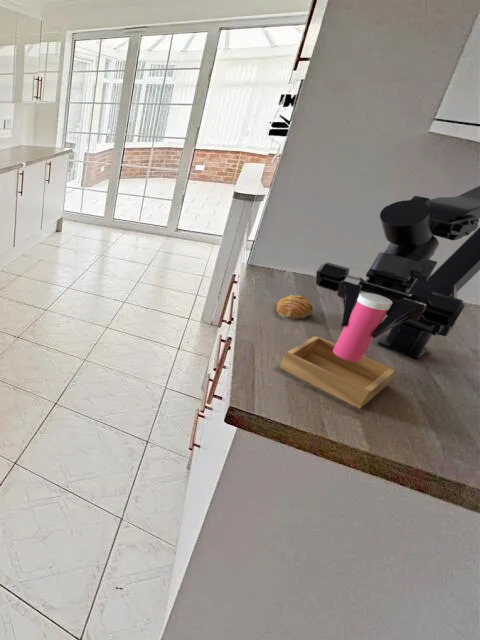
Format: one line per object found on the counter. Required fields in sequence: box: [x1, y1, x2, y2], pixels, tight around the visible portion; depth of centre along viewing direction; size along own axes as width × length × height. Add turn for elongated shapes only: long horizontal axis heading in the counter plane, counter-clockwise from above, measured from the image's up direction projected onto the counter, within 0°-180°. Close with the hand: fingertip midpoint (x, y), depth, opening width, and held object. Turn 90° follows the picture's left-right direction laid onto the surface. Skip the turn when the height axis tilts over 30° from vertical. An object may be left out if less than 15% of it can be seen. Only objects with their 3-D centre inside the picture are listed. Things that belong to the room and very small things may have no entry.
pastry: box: [276, 294, 314, 320], centre depth 100 cm, size 9×7×4 cm
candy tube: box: [333, 292, 392, 362], centre depth 73 cm, size 4×4×12 cm
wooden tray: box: [279, 335, 397, 409], centre depth 77 cm, size 13×13×4 cm
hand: (357, 330), depth 72 cm, fingers closed on candy tube, 4 cm apart
